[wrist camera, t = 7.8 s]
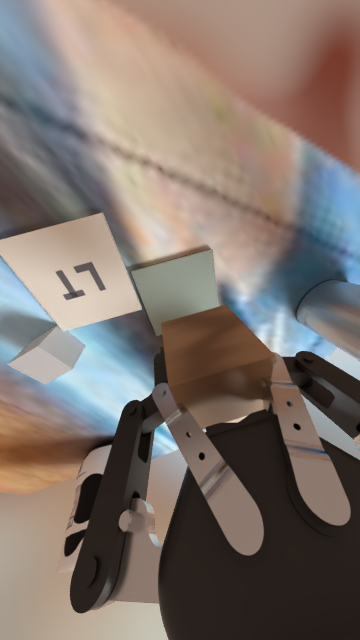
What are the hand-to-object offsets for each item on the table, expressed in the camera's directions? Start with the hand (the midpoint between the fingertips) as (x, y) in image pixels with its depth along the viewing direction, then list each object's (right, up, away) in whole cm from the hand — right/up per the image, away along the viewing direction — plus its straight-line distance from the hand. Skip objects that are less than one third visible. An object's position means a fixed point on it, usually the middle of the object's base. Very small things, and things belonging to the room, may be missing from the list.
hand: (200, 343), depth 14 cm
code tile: (-15, +7, +6) cm, 17 cm away
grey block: (-21, -1, +10) cm, 23 cm away
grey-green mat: (-2, +6, +9) cm, 11 cm away
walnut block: (0, 0, +1) cm, 1 cm away
